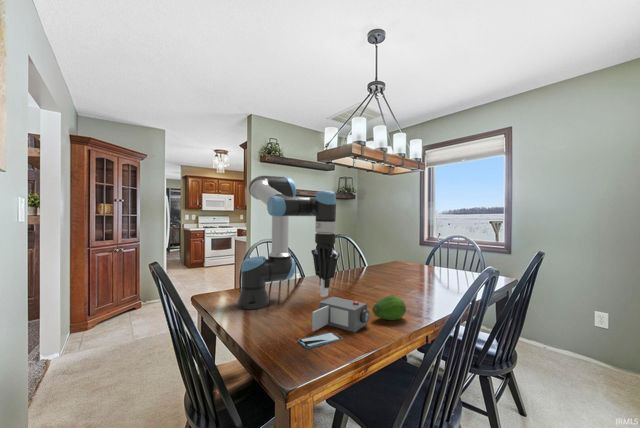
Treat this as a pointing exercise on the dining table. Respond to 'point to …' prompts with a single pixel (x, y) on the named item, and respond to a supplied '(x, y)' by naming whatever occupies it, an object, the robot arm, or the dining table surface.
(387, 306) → the fruit
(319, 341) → the smartphone
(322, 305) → the camera body
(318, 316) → the door
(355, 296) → the dining table surface
